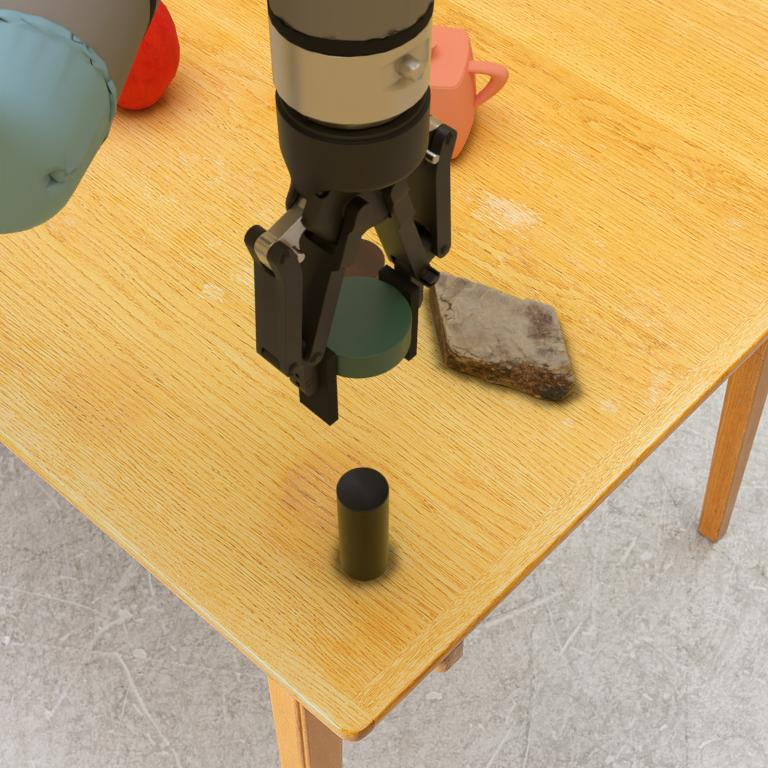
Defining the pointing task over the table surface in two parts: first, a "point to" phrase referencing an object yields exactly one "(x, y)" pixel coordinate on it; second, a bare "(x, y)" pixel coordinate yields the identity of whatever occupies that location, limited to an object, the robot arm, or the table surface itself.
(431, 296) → the stone
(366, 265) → the chip pile
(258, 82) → the table surface
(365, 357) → the green chip
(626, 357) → the table surface
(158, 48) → the apple
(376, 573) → the black cylinder
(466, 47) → the teapot
